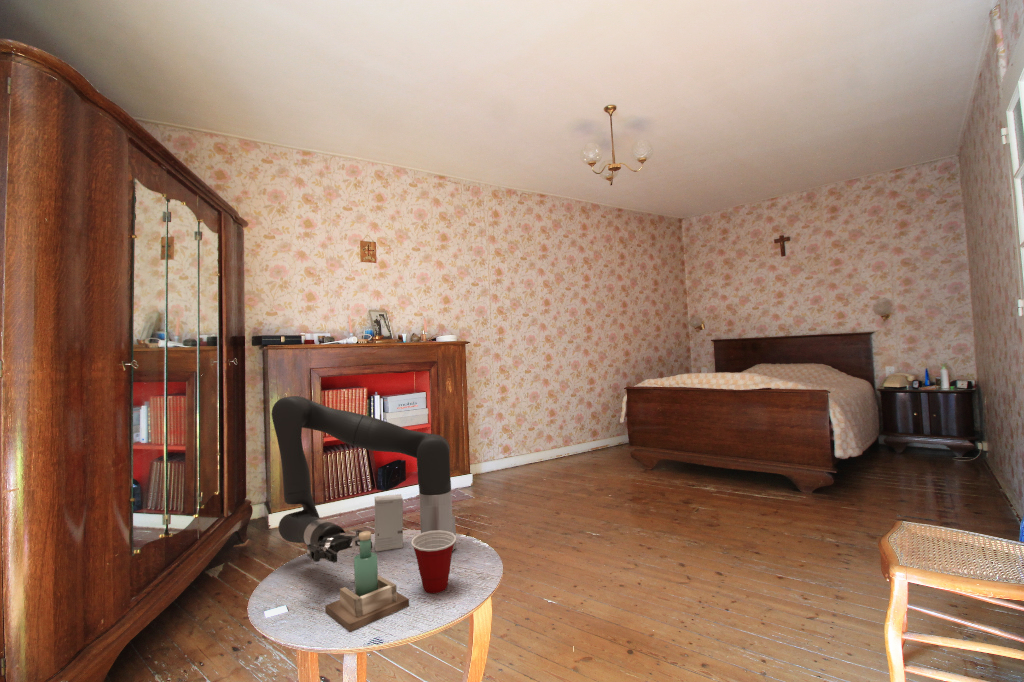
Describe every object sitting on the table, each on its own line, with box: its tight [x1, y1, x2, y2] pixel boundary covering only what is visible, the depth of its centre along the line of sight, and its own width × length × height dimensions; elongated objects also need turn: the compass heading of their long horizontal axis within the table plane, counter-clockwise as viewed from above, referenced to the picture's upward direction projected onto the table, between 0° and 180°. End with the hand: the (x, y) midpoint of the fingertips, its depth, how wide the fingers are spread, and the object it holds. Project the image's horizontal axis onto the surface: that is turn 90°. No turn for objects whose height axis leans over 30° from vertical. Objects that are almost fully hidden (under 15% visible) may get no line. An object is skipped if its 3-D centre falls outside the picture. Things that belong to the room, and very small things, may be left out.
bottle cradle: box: [324, 574, 410, 632], centre depth 108 cm, size 14×12×5 cm
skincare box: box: [374, 494, 404, 553], centre depth 146 cm, size 8×6×15 cm
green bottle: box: [353, 530, 379, 597], centre depth 109 cm, size 5×5×15 cm
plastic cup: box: [411, 530, 457, 594], centre depth 117 cm, size 11×11×12 cm
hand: (353, 552), depth 113 cm, fingers open, 8 cm apart
